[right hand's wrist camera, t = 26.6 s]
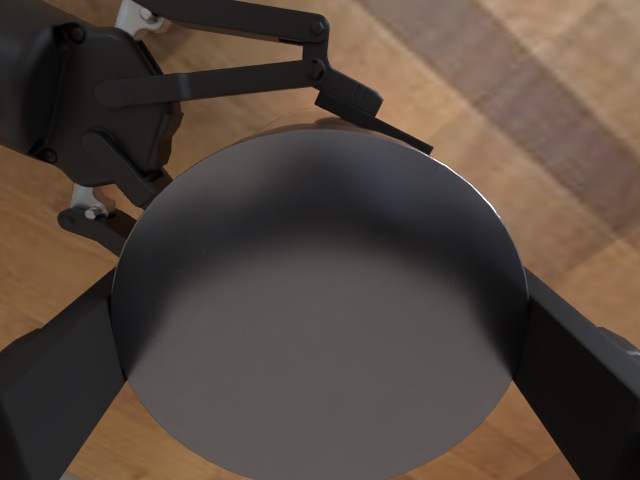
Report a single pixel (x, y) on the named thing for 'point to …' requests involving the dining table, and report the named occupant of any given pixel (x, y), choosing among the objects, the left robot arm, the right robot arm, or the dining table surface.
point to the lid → (319, 306)
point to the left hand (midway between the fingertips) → (376, 234)
